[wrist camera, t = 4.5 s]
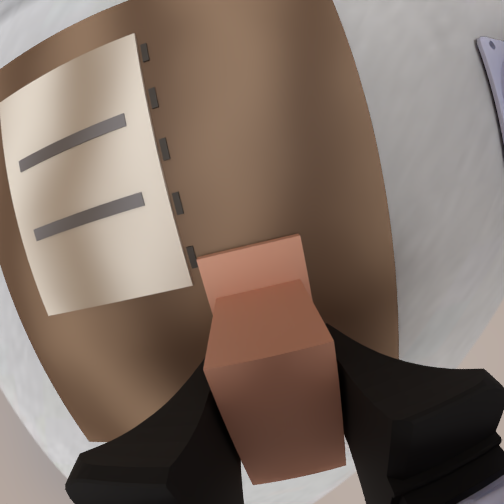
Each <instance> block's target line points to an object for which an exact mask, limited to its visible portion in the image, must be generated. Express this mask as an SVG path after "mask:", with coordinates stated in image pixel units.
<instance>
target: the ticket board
mask: <svg viewBox="0 0 504 504" xmlns="http://www.w3.org/2000/svg"><path fill="white" fill-rule="evenodd" d="M293 234H299V235H300V237H301V242H302V247H303V252H304V257H305V262H306V267H307V273H308V278H309V284H310V289H311V295H312V300H313V303H314V305H315V307H316V309H317V310H318V312H319V314H320V316H321V318H322V320H323V321H324V323H325V324H326V323H328V324H329V325H331V326H332V327H334V328H335V329H337V330H339V331H340V332H342V333H343V334H345V335H346V336H348V337H350V338H351V339H353V340H355V341H356V342H358V343H360V344H362V345H364V346H366V347H368V348H370V349H372V350H374V351H377V352H379V353H381V354H384V355H386V356H389V357H392V358H395V359H398V360H399V334H398V304H397V286H396V273H395V261H394V251H393V242H392V233H391V225H390V218H389V211H388V204H387V198H386V191H385V185H384V180H383V174H382V169H381V164H380V159H379V154H378V149H377V144H376V140H375V135H374V131H373V126H372V122H371V118H370V114H369V110H368V106H367V103H366V99H365V95H364V92H363V88H362V84H361V81H360V78H359V74H358V71H357V68H356V65H355V61H354V58H353V55H352V52H351V49H350V46H349V43H348V40H347V37H346V35H345V32H344V29H343V26H342V24H341V21H340V18H339V16H338V13H337V11H336V8H335V6H334V3H333V1H332V0H128V1H126V2H123V3H121V4H118V5H116V6H113V7H111V8H108V9H106V10H104V11H101V12H99V13H97V14H94V15H92V16H90V17H88V18H86V19H84V20H82V21H80V22H78V23H76V24H74V25H72V26H70V27H68V28H66V29H64V30H62V31H60V32H58V33H56V34H55V35H53V36H51V37H49V38H48V39H46V40H44V41H42V42H41V43H39V44H37V45H36V46H34V47H32V48H31V49H29V50H28V51H26V52H25V53H23V54H21V55H20V56H18V57H17V58H15V59H14V60H13V61H11V62H10V63H8V64H7V65H5V66H4V67H3V68H1V69H0V265H1V268H2V271H3V274H4V277H5V280H6V283H7V286H8V289H9V292H10V294H11V297H12V300H13V302H14V305H15V307H16V310H17V312H18V315H19V317H20V319H21V322H22V324H23V326H24V329H25V331H26V333H27V335H28V338H29V340H30V342H31V344H32V346H33V348H34V350H35V352H36V354H37V356H38V358H39V360H40V362H41V364H42V366H43V368H44V370H45V372H46V373H47V375H48V377H49V379H50V381H51V383H52V384H53V386H54V388H55V390H56V391H57V393H58V395H59V396H60V398H61V400H62V401H63V403H64V405H65V406H66V408H67V409H68V411H69V412H70V414H71V416H72V417H73V419H74V420H75V422H76V423H77V425H78V426H79V428H80V429H81V431H82V432H83V433H84V435H85V436H86V438H87V439H88V440H89V441H90V442H109V441H111V440H113V439H115V438H117V437H119V436H121V435H123V434H125V433H126V432H128V431H130V430H131V429H133V428H134V427H136V426H137V425H139V424H140V423H142V422H143V421H144V420H146V419H147V418H149V417H150V416H151V415H153V414H154V413H155V412H156V411H158V410H159V409H160V408H161V407H162V406H163V405H164V404H166V403H167V402H168V401H169V400H170V399H171V398H172V397H173V396H174V395H175V394H176V393H177V391H178V390H179V389H180V388H181V387H182V386H183V385H184V384H185V382H186V381H187V380H188V379H189V378H190V377H191V375H192V374H193V373H194V371H195V370H196V369H197V368H198V366H199V365H200V364H201V362H202V361H203V359H204V358H205V356H206V351H207V345H208V340H209V334H210V329H211V323H212V318H213V314H212V311H211V308H210V305H209V301H208V298H207V295H206V291H205V288H204V284H203V281H202V278H201V274H200V271H199V267H198V264H197V258H198V257H200V256H204V255H208V254H213V253H217V252H221V251H225V250H229V249H234V248H238V247H242V246H246V245H251V244H255V243H259V242H263V241H268V240H272V239H276V238H281V237H285V236H289V235H293Z"/></svg>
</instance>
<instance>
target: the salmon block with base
mask: <svg viewBox="0 0 504 504" xmlns="http://www.w3.org/2000/svg"><path fill="white" fill-rule="evenodd" d="M197 264H198V267H199V271H200V274H201V278H202V281H203V284H204V288H205V291H206V295H207V298H208V301H209V305H210V308H211V311H212V314H213V318H212V323H211V329H210V334H209V340H208V345H207V351H206V356H205V362H204V367H203V371H204V373H205V376H206V379H207V381H208V384H209V386H210V389H211V391H212V394H213V396H214V399H215V401H216V404H217V406H218V409H219V411H220V413H221V416H222V418H223V420H224V423H225V425H226V427H227V430H228V432H229V434H230V437H231V439H232V441H233V443H234V446H235V448H236V450H237V452H238V454H239V457H240V459H241V461H242V463H243V465H244V467H245V470H246V472H247V474H248V476H249V478H250V480H251V482H252V484H253V485H257V484H264V483H270V482H276V481H281V480H287V479H292V478H297V477H301V476H306V475H310V474H315V473H319V472H323V471H327V470H331V469H334V468H338V467H341V466H345V465H346V457H345V442H344V429H343V418H342V407H341V397H340V387H339V378H338V369H337V361H336V353H335V345H334V340H333V338H332V336H331V334H330V333H329V331H328V329H327V327H326V325H325V323H324V321H323V320H322V318H321V316H320V314H319V312H318V310H317V309H316V307H315V305H314V303H313V300H312V295H311V289H310V284H309V278H308V273H307V267H306V262H305V257H304V252H303V247H302V242H301V237H300V235H299V234H293V235H289V236H285V237H281V238H276V239H272V240H268V241H263V242H259V243H255V244H251V245H246V246H242V247H238V248H234V249H229V250H225V251H221V252H217V253H213V254H208V255H204V256H200V257H198V258H197Z"/></svg>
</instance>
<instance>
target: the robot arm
mask: <svg viewBox="0 0 504 504" xmlns="http://www.w3.org/2000/svg"><path fill="white" fill-rule="evenodd" d="M477 45H478V48H479V51H480V53H481V56H482V59H483V62H484V65H485V68H486V72H487V75H488V78H489V82H490V85H491V89H492V93H493V96H494V100H495V104H496V108H497V113H498V117H499V122H500V127H501V132H502V138H503V143H504V41H501V40H497V39H493V38H489V37H485V36H481V37H479V38H478V39H477ZM325 325H326V327H327V329H328V331H329V333H330V334H331V336H332V338H333V340H334V345H335V353H336V361H337V369H338V378H339V387H340V397H341V407H342V418H343V429H344V435H345V438H346V440H347V442H348V445H349V448H350V451H351V454H352V457H353V460H354V464H355V467H356V470H357V473H358V476H359V480H360V483H361V487H362V490H363V494H364V497H365V501H366V504H504V451H503V450H502V448H501V447H500V446H499V444H500V443H501V437H500V436H499V435H498V434H497V432H496V429H497V426H498V424H499V421H500V418H501V416H502V413H503V410H504V387H503V386H502V385H501V384H500V383H499V382H498V381H497V380H496V379H495V378H493V376H491V375H490V374H489V373H488V372H487V371H486V370H485V369H446V368H436V367H429V366H423V365H418V364H414V363H409V362H405V361H402V360H398V359H395V358H392V357H389V356H386V355H384V354H381V353H379V352H377V351H374V350H372V349H370V348H368V347H366V346H364V345H362V344H360V343H358V342H356V341H355V340H353V339H351V338H350V337H348V336H346V335H345V334H343V333H342V332H340V331H339V330H337V329H335V328H334V327H332V326H331V325H329V324H328V323H326V324H325ZM204 362H205V358H204V359H203V361H202V362H201V364H200V365H199V366H198V368H197V369H196V370H195V371H194V373H193V374H192V375H191V377H190V378H189V379H188V380H187V381H186V382H185V384H184V385H183V386H182V387H181V388H180V389H179V390H178V391H177V393H176V394H175V395H174V396H173V397H172V398H171V399H170V400H169V401H168V402H167V403H166V404H164V405H163V406H162V407H161V408H160V409H159V410H158V411H156V412H155V413H154V414H153V415H151V416H150V417H149V418H147V419H146V420H144V421H143V422H142V423H140V424H139V425H137V426H136V427H134V428H133V429H131V430H130V431H128V432H126V433H125V434H123V435H121V436H119V437H117V438H115V439H113V440H111V441H109V442H107V443H105V444H103V445H100V446H98V447H96V448H93V449H91V450H88V451H86V452H83V453H80V455H79V457H78V459H77V461H76V463H75V465H74V467H73V469H72V471H71V473H70V475H69V478H68V480H67V482H66V484H65V487H66V488H65V490H66V492H67V494H68V495H69V497H70V499H71V500H72V501H73V502H74V503H75V504H244V499H243V489H242V477H241V459H240V457H239V454H238V452H237V450H236V448H235V446H234V443H233V441H232V439H231V437H230V434H229V432H228V430H227V427H226V425H225V423H224V420H223V418H222V416H221V413H220V411H219V409H218V406H217V404H216V401H215V399H214V396H213V394H212V391H211V389H210V386H209V384H208V381H207V379H206V376H205V373H204V371H203V367H204Z"/></svg>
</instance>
